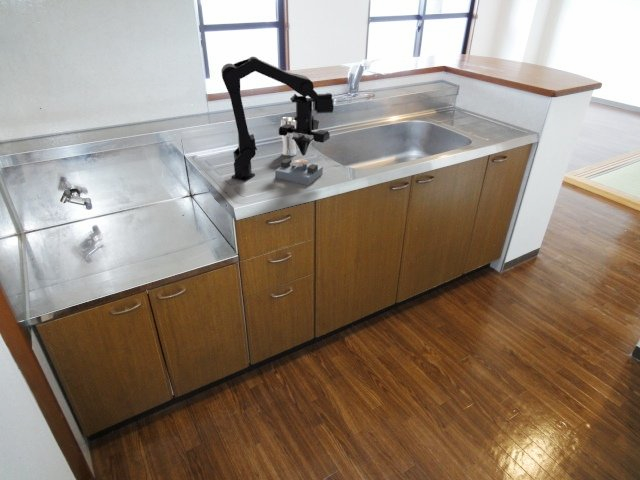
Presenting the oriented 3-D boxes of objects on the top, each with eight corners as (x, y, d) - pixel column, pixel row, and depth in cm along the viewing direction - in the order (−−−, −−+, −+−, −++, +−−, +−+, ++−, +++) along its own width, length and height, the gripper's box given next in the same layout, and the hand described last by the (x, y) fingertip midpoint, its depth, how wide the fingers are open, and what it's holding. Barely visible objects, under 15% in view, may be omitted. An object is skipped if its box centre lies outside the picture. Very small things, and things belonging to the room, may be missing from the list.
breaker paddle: (298, 166, 155) (298, 164, 155) (289, 165, 156) (290, 162, 156) (308, 163, 162) (308, 160, 162) (300, 161, 163) (300, 159, 163)
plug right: (312, 173, 156) (312, 168, 155) (307, 172, 157) (307, 167, 156) (317, 170, 159) (317, 165, 158) (311, 168, 160) (312, 163, 159)
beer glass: (298, 151, 184) (298, 116, 177) (296, 157, 179) (296, 121, 171) (282, 150, 185) (282, 116, 177) (279, 156, 179) (279, 120, 171)
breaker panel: (308, 185, 155) (308, 172, 152) (275, 177, 160) (274, 164, 157) (322, 174, 164) (322, 161, 161) (290, 167, 169) (290, 154, 166)
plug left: (286, 168, 160) (286, 163, 159) (281, 166, 161) (280, 161, 160) (291, 164, 163) (291, 159, 162) (286, 163, 164) (286, 158, 163)
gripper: (336, 112, 155) (334, 153, 164) (292, 105, 162) (292, 144, 170) (323, 119, 147) (322, 162, 155) (277, 112, 153) (278, 153, 162)
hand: (303, 155), depth 161 cm, fingers closed
